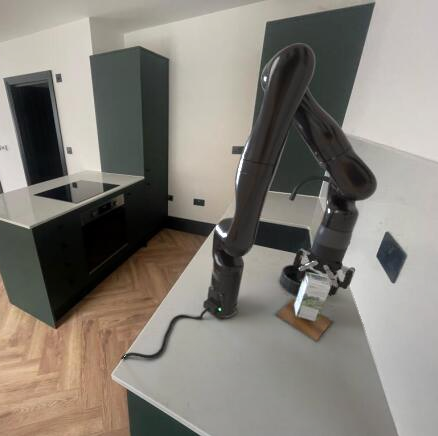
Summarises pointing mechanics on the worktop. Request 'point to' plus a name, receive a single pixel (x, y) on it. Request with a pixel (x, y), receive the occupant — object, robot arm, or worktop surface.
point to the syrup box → (311, 296)
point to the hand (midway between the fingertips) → (314, 286)
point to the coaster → (304, 322)
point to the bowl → (292, 278)
